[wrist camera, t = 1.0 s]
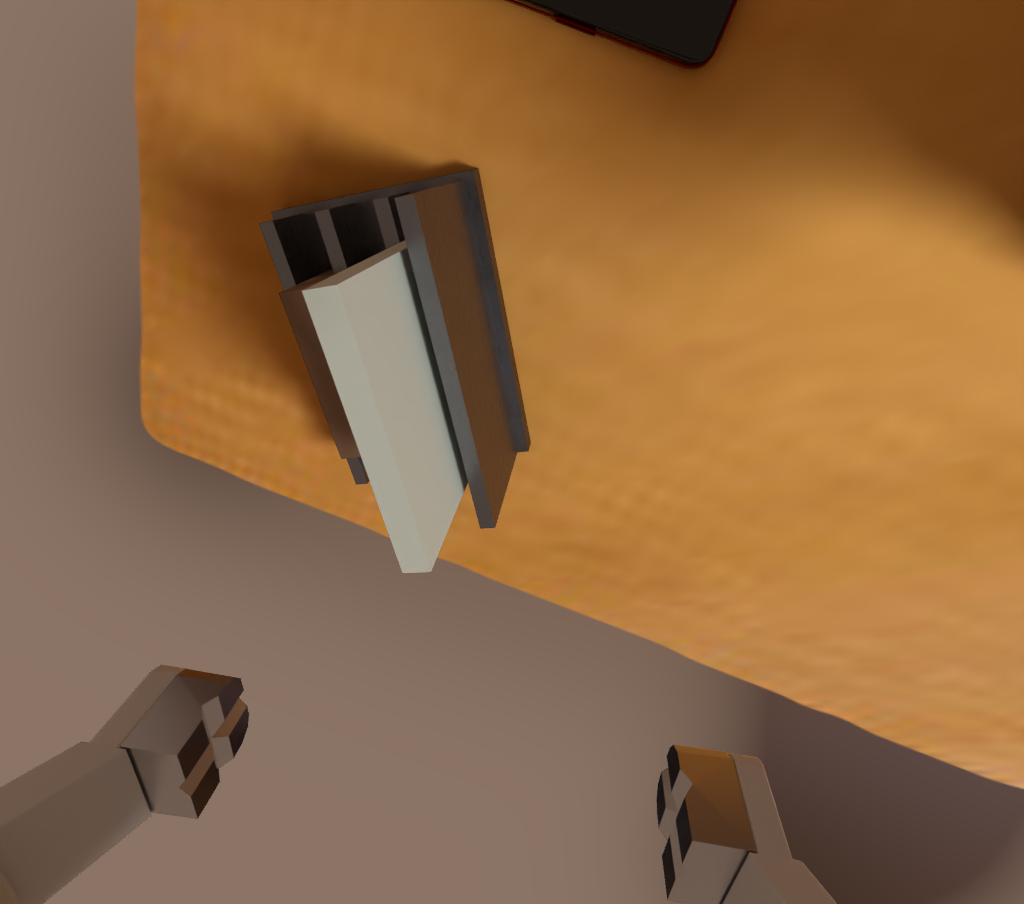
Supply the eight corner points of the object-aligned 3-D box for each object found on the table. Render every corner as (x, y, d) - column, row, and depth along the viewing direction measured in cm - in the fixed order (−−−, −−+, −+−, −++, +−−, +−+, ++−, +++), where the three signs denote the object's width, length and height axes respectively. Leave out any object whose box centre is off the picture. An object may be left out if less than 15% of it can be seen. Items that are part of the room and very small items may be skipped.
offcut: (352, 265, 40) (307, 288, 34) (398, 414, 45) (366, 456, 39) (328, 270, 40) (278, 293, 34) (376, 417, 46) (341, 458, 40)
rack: (478, 168, 37) (424, 180, 26) (530, 442, 47) (506, 533, 36) (282, 209, 40) (162, 235, 29) (368, 457, 50) (302, 544, 39)
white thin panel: (449, 225, 38) (337, 284, 22) (493, 421, 44) (430, 571, 29) (427, 229, 38) (301, 290, 22) (474, 423, 45) (402, 572, 29)
